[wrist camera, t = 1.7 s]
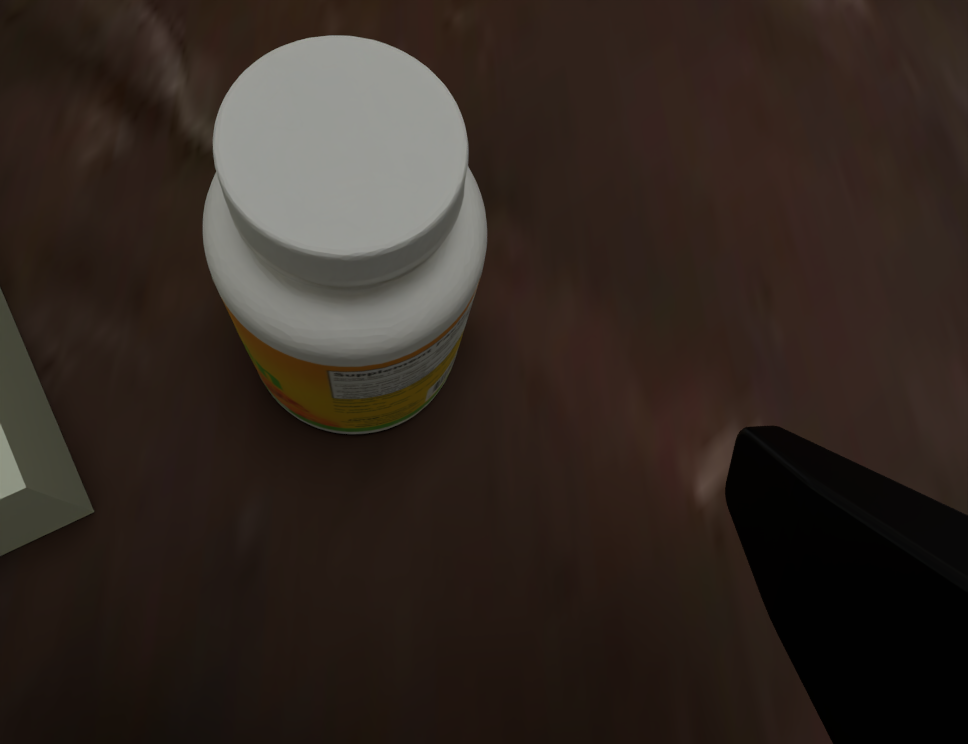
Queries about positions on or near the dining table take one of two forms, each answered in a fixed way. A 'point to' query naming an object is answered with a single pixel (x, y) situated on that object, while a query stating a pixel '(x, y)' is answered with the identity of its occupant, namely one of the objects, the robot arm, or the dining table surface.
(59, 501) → the plinth
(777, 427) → the robot arm
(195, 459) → the dining table surface
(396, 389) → the supplement bottle
